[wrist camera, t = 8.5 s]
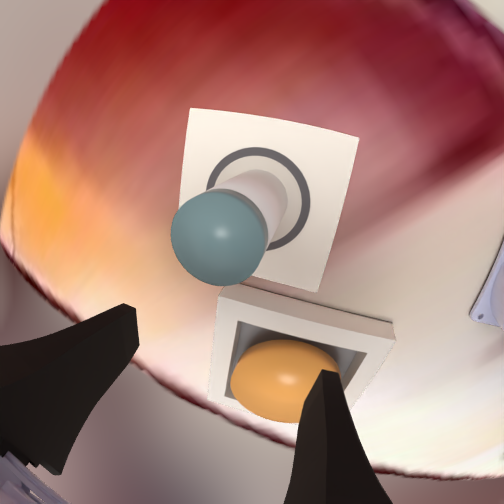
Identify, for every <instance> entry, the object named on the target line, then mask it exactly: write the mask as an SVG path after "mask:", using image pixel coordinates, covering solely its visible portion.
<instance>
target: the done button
mask: <svg viewBox="0 0 504 504" xmlns="http://www.w3.org/2000/svg"><path fill="white" fill-rule="evenodd" d="M322 369H324V370H329V371H333V372H338V373H339V375H340V379H341V372H340V369H339V367H338V365H337V363H336V362H335V361H334V359H333V358H332V357H331V356H330V355H328V354H327V353H326V352H324V351H323V350H321V349H319V348H317V347H315V346H313V345H310V344H307V343H304V342H300V341H295V340H270V341H265V342H261V343H258V344H256V345H254V346H252V347H250V348H248V349H247V350H246V351H245V352H244V353H243V354H242V355H241V356H240V358H239V360H238V362H237V364H236V367H235V369H234V371H233V374H232V377H231V381H230V385H231V390H232V393H233V395H234V396H235V398H236V399H237V401H238V402H239V403H240V404H241V405H242V406H244V407H245V408H246V409H247V410H249V411H250V412H252V413H254V414H256V415H258V416H260V417H263V418H265V419H269V420H272V421H277V422H283V423H299V421H300V417H301V413H302V408H303V404H304V401H305V399H306V397H307V395H308V394H309V392H310V390H311V388H312V386H313V385H314V383H315V381H316V379H317V377H318V375H319V373H320V372H321V370H322Z"/></svg>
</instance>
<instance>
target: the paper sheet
mask: <svg viewBox="0 0 504 504" xmlns="http://www.w3.org/2000/svg"><path fill="white" fill-rule="evenodd" d="M358 142H359V138H358V137H355V136H351V135H347V134H344V133H340V132H336V131H332V130H328V129H324V128H319V127H315V126H311V125H306V124H301V123H297V122H292V121H286V120H281V119H275V118H270V117H264V116H257V115H251V114H243V113H236V112H228V111H219V110H209V109H197V108H190V113H189V120H188V127H187V134H186V142H185V150H184V159H183V168H182V178H181V188H180V200H179V208H180V207H181V206H182V205H183V204H184V203H185V202H187V201H188V200H190V199H191V198H193V197H195V196H197V195H199V194H201V193H203V192H205V191H207V190H209V189H211V188H213V187H215V186H217V185H219V184H221V183H223V182H225V181H227V180H229V179H231V178H233V177H235V176H237V175H239V174H241V173H243V172H246V171H248V170H254V169H258V170H264V171H267V172H270V173H272V174H273V175H275V176H276V177H277V178H278V179H279V180H280V181H281V182H282V184H283V185H284V187H285V189H286V192H287V197H288V204H287V209H286V212H285V214H284V216H283V218H282V220H281V222H280V224H279V226H278V228H277V230H276V232H275V234H274V236H273V238H272V240H271V242H270V244H269V246H268V248H267V250H266V252H265V254H264V256H263V258H262V259H261V261H260V263H259V265H258V267H257V269H256V270H255V272H254V273H253V274H252V275H251V276H255V277H258V278H262V279H266V280H269V281H273V282H277V283H281V284H284V285H288V286H292V287H296V288H300V289H303V290H307V291H311V292H315V293H317V291H318V288H319V285H320V282H321V279H322V276H323V273H324V269H325V266H326V263H327V260H328V256H329V253H330V250H331V247H332V243H333V240H334V236H335V233H336V229H337V226H338V222H339V219H340V215H341V211H342V208H343V204H344V200H345V196H346V192H347V188H348V185H349V180H350V176H351V172H352V168H353V164H354V159H355V155H356V151H357V146H358Z"/></svg>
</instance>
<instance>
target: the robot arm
mask: <svg viewBox="0 0 504 504" xmlns="http://www.w3.org/2000/svg"><path fill="white" fill-rule="evenodd" d="M480 314H481V315H480ZM479 315H480V316H479ZM470 317H471V319H472V320H473V321H477V322H482V323H486V324H490V325H494V326H499V327H501V328H502V330H503V331H504V241H503V244H502V246H501V249H500V251H499V254H498V256H497V259H496V261H495V263H494V266H493V268H492V270H491V272H490V275H489V277H488V279H487V281H486V283H485V285H484V287H483V289H482V291H481V293H480V295H479V297H478V299H477V301H476V303H475V305H474V307H473V308H472V310H471V312H470ZM138 347H139V336H138V326H137V316H136V308H134V307H131V306H129V305H127V304H124V303H123V304H120V305H118V306H116V307H113V308H111V309H109V310H107V311H105V312H102V313H100V314H98V315H96V316H94V317H91V318H89V319H87V320H85V321H83V322H80V323H78V324H76V325H73V326H71V327H68V328H66V329H63V330H61V331H58V332H56V333H53V334H50V335H47V336H44V337H41V338H37V339H33V340H30V341H25V342H21V343H16V344H10V345H3V346H0V504H46V503H47V504H71V503H70V502H68V501H67V500H65V499H64V498H63V497H61V496H60V495H59V494H57V493H56V492H55V491H54V490H52V489H51V488H50V487H49V486H47V485H46V484H45V483H44V482H43V481H41V480H40V479H39V478H38V477H37V476H36V475H35V474H33V473H32V472H31V471H30V470H29V469H28V468H27V467H26V466H27V465H28V463H29V462H30V463H31V464H32V465H33V466H34V467H35V468H36V467H38V465H39V464H41V465H42V466H43V467H44V468H46V469H47V470H48V471H49V472H50V473H51V474H53V475H61V474H62V471H63V468H64V465H65V463H66V460H67V457H68V455H69V453H70V451H71V448H72V446H73V444H74V442H75V440H76V438H77V436H78V434H79V432H80V430H81V428H82V427H83V425H84V423H85V421H86V420H87V418H88V416H89V414H90V413H91V411H92V410H93V408H94V407H95V405H96V404H97V402H98V401H99V400H100V398H101V397H102V396H103V395H104V393H105V392H106V391H107V390H108V389H109V387H110V386H111V385H112V384H113V382H114V381H115V380H116V379H117V377H118V376H119V375H120V374H121V372H122V371H123V370H124V369H125V367H126V366H127V365H128V363H129V362H130V360H131V359H132V357H133V355H134V354H135V352H136V350H137V349H138ZM30 490H31V491H33V492H34V493H35V494H36V495H37V496H38V497H39V498H41V499H42V500H43V501H44V502H43V501H42V500H40V499H39V498H37V497H36V496H34V495H33V494H31V493H30ZM284 504H393V503H392V501H391V500H390V498H389V497H388V495H387V494H386V492H385V491H384V489H383V487H382V486H381V484H380V482H379V480H378V478H377V477H376V475H375V473H374V471H373V469H372V467H371V465H370V463H369V461H368V458H367V456H366V454H365V452H364V449H363V447H362V444H361V442H360V439H359V437H358V434H357V431H356V429H355V426H354V423H353V420H352V417H351V414H350V411H349V407H348V404H347V401H346V397H345V394H344V390H343V387H342V383H341V379H340V375H339V373H338V372H333V371H329V370H324V369H322V370H321V372H320V373H319V375H318V377H317V379H316V381H315V383H314V385H313V386H312V388H311V390H310V392H309V394H308V395H307V397H306V399H305V401H304V404H303V408H302V413H301V417H300V421H299V425H298V433H297V440H296V448H295V455H294V462H293V468H292V475H291V480H290V484H289V487H288V491H287V494H286V497H285V501H284Z"/></svg>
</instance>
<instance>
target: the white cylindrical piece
mask: <svg viewBox="0 0 504 504" xmlns="http://www.w3.org/2000/svg"><path fill="white" fill-rule="evenodd" d="M287 204H288V197H287V192H286V189H285V187H284V185H283V184H282V182H281V181H280V180H279V179H278V178H277V177H276V176H275V175H273V174H272V173H270V172H267V171H264V170H258V169H254V170H248V171H246V172H243V173H241V174H239V175H237V176H235V177H233V178H231V179H229V180H227V181H225V182H223V183H221V184H219V185H217V186H215V187H213V188H211V189H209V190H207V191H205V192H203V193H201V194H199V195H197V196H195V197H193V198H191V199H190V200H188V201H187V202H185V203H184V204H183V205H182V206H181V207H180V208H179V209H178V211H177V213H176V214H175V216H174V219H173V222H172V226H171V242H172V246H173V249H174V252H175V254H176V256H177V258H178V260H179V262H180V263H181V264H182V266H183V267H184V268H185V269H186V270H187V271H188V272H189V273H190V274H191V275H192V276H194V277H195V278H197V279H199V280H201V281H203V282H205V283H208V284H211V285H215V286H231V285H235V284H238V283H241V282H243V281H244V280H246V279H247V278H249V277H250V276H251V275H252V274H253V273H254V272H255V270H256V269H257V267H258V265H259V263H260V261H261V259H262V258H263V256H264V254H265V252H266V250H267V248H268V246H269V244H270V242H271V240H272V238H273V236H274V234H275V232H276V230H277V228H278V226H279V224H280V222H281V220H282V218H283V216H284V214H285V212H286V209H287Z"/></svg>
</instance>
